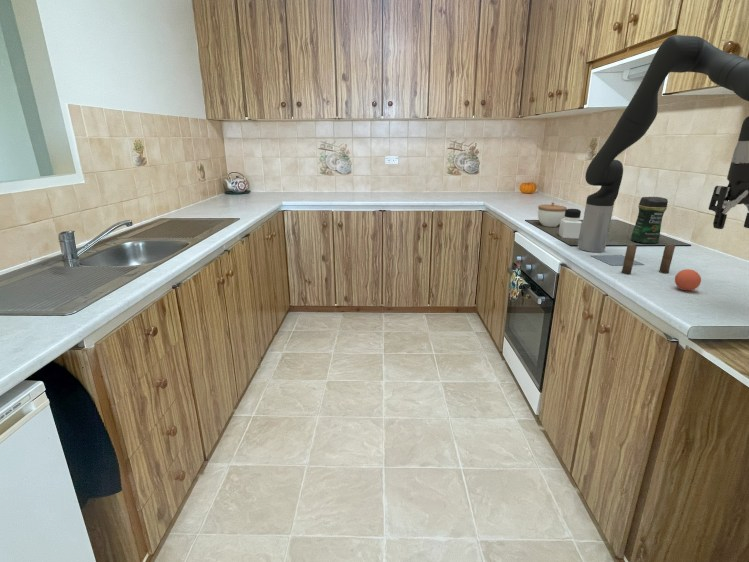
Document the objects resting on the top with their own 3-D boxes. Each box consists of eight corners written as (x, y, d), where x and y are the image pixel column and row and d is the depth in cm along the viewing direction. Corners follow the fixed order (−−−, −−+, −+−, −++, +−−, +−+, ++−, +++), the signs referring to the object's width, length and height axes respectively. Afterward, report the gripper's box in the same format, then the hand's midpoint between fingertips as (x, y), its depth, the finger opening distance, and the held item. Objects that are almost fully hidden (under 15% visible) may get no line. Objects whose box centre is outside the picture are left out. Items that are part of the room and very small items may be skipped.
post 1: (619, 271, 137) (625, 244, 134) (627, 271, 137) (633, 244, 134) (625, 274, 134) (631, 246, 131) (632, 274, 135) (638, 246, 132)
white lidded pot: (530, 223, 212) (533, 200, 208) (553, 222, 214) (557, 200, 210) (544, 228, 200) (548, 204, 196) (569, 227, 202) (573, 204, 198)
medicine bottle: (579, 239, 180) (584, 210, 176) (562, 238, 181) (566, 210, 177) (575, 235, 187) (579, 208, 183) (558, 234, 188) (562, 207, 184)
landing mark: (590, 255, 155) (590, 255, 155) (621, 255, 156) (621, 254, 156) (611, 265, 143) (611, 265, 143) (644, 264, 145) (644, 264, 145)
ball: (667, 286, 124) (672, 266, 122) (686, 286, 125) (691, 266, 123) (683, 293, 118) (689, 273, 116) (703, 293, 119) (709, 272, 117)
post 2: (657, 270, 138) (663, 244, 135) (664, 270, 139) (671, 243, 136) (663, 273, 136) (669, 246, 133) (670, 273, 136) (677, 245, 133)
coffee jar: (638, 244, 173) (648, 198, 167) (627, 239, 180) (636, 195, 174) (662, 244, 173) (673, 198, 167) (650, 239, 180) (660, 195, 174)
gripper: (762, 160, 106) (744, 225, 111) (711, 160, 104) (695, 225, 109) (794, 162, 99) (773, 230, 104) (739, 161, 97) (721, 231, 102)
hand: (733, 228), depth 107 cm, fingers open, 8 cm apart
